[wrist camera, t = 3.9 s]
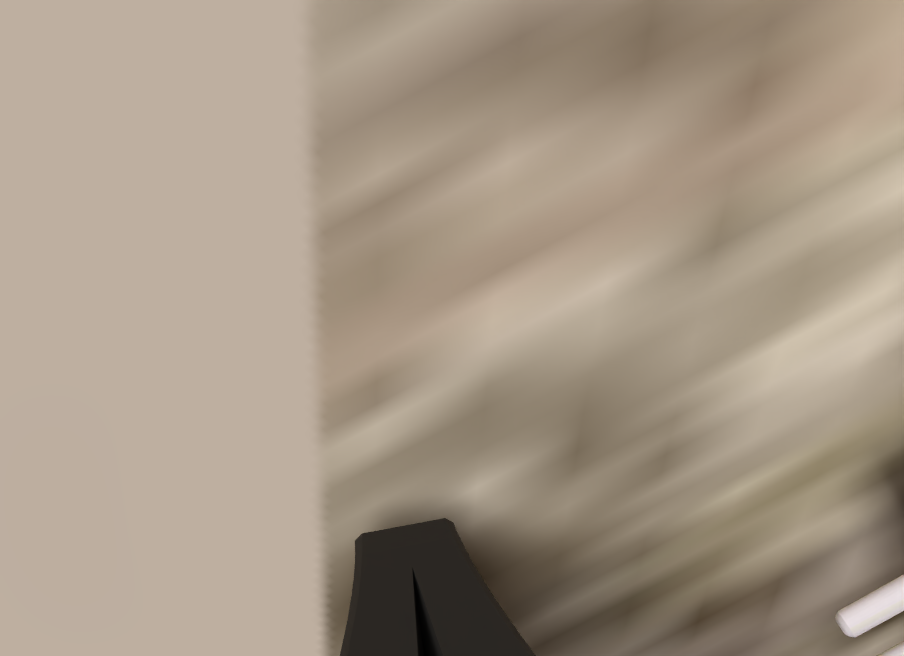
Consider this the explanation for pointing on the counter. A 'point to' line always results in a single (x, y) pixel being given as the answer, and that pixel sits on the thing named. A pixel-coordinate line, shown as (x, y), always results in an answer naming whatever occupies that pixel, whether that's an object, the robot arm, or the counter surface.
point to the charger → (874, 612)
